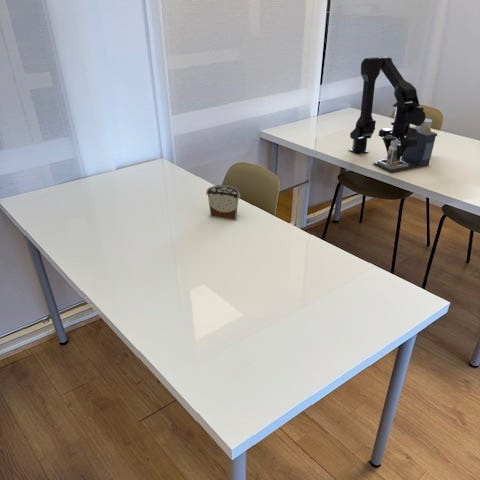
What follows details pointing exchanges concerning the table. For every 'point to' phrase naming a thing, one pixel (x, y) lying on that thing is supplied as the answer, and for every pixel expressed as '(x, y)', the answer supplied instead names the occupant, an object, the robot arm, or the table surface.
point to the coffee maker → (413, 153)
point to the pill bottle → (393, 154)
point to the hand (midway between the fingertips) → (393, 157)
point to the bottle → (426, 124)
